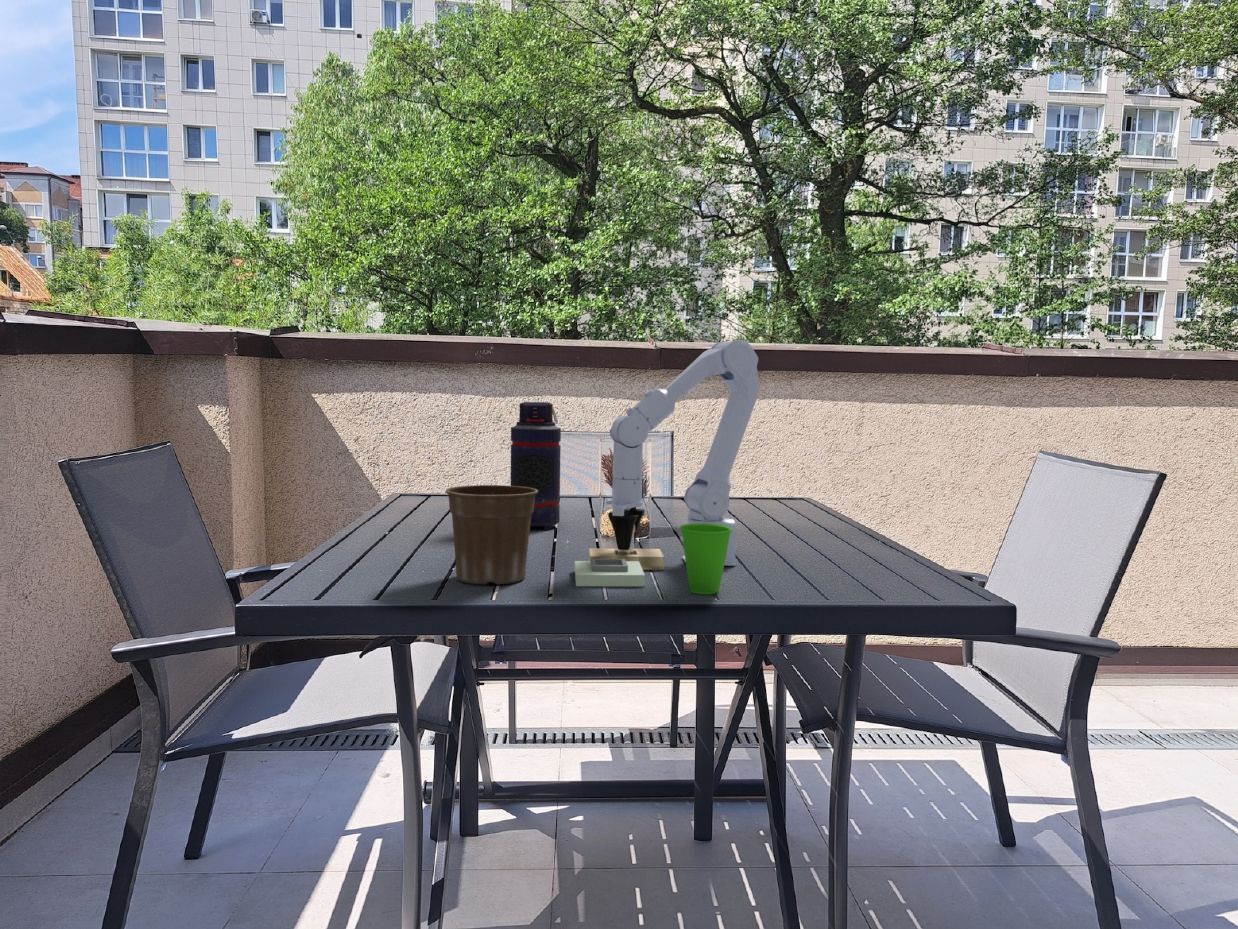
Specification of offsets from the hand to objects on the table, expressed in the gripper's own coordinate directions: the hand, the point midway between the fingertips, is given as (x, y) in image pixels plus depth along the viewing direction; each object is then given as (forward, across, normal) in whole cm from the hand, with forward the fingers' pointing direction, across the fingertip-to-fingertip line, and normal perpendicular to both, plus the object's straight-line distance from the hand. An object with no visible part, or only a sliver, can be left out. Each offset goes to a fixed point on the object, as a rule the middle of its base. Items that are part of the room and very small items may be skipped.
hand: (625, 547), depth 176 cm
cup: (+4, +16, +18) cm, 24 cm away
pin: (+3, 0, 0) cm, 3 cm away
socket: (+3, +13, 0) cm, 13 cm away
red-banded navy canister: (+4, -38, -32) cm, 49 cm away
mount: (+3, 0, 0) cm, 3 cm away
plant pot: (+4, +19, -20) cm, 28 cm away
